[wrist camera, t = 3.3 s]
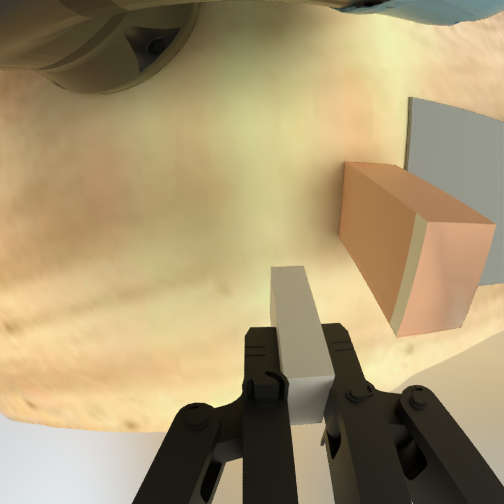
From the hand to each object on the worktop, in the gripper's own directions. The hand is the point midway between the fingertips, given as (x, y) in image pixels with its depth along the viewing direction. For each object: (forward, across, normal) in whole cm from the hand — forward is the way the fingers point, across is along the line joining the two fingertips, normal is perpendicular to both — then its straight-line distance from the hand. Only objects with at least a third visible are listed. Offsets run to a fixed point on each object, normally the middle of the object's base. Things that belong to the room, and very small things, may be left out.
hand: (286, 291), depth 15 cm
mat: (+14, +22, 0) cm, 26 cm away
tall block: (+14, +9, 0) cm, 16 cm away
